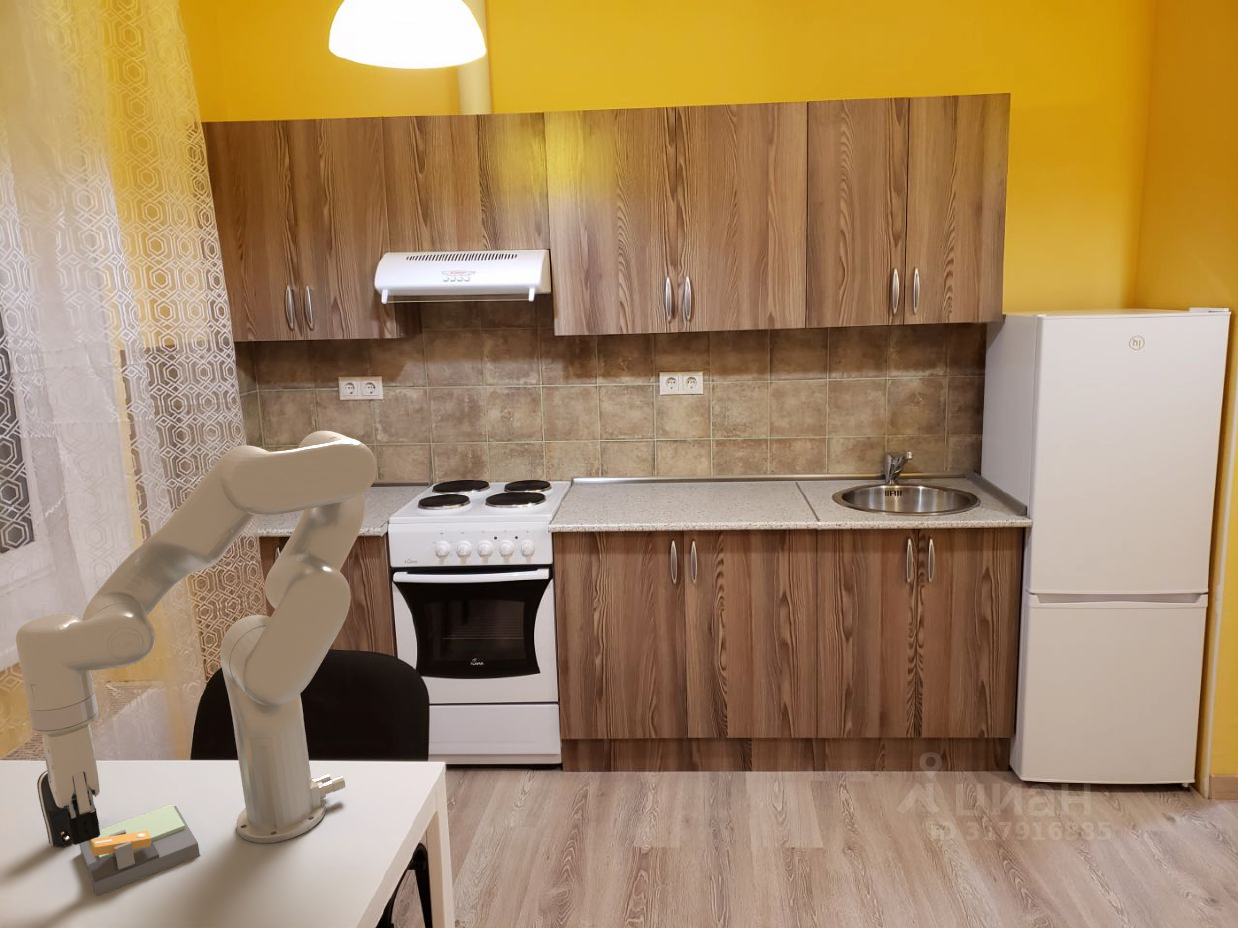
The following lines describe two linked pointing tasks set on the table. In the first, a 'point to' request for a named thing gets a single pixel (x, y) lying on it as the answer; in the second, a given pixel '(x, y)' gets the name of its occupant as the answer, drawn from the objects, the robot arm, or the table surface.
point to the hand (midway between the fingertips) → (86, 837)
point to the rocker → (119, 842)
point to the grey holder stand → (141, 849)
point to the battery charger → (53, 815)
